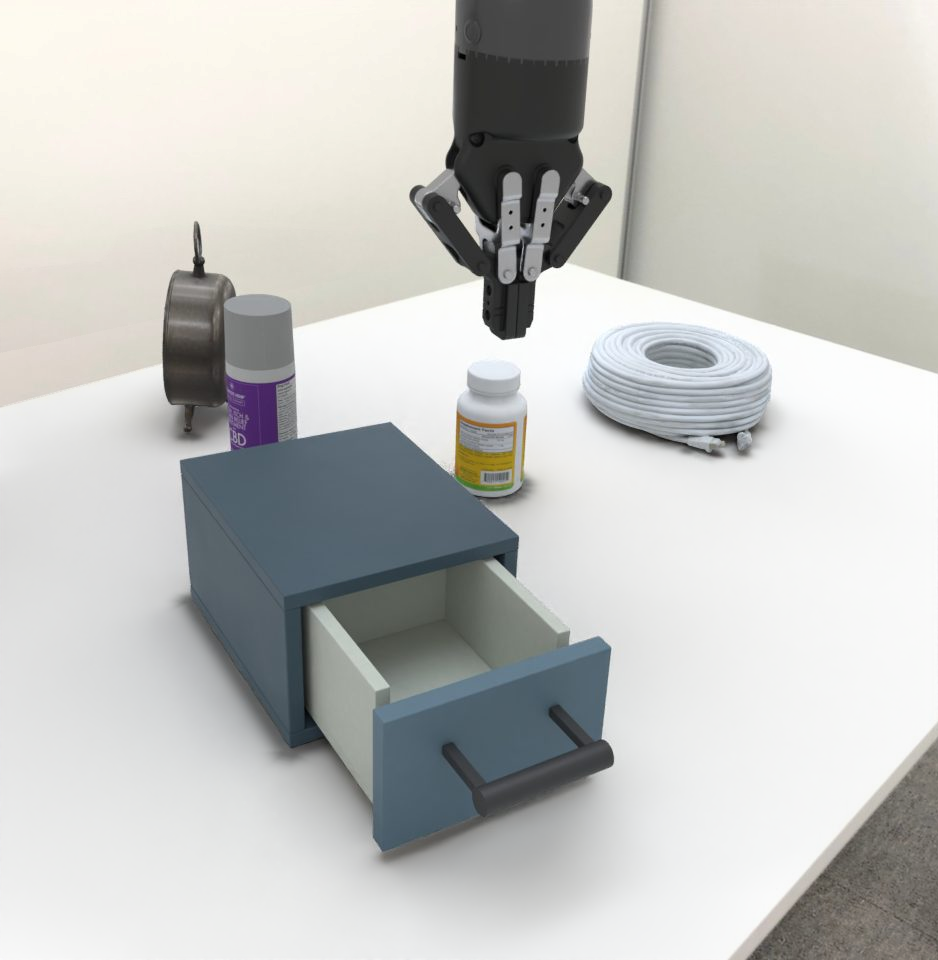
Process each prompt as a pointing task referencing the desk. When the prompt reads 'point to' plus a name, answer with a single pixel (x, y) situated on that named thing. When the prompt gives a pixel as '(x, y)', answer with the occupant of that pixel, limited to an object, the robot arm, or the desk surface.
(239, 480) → the cabinet
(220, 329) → the alarm clock
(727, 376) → the cable
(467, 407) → the supplement bottle
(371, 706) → the drawer
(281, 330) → the container
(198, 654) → the desk surface
